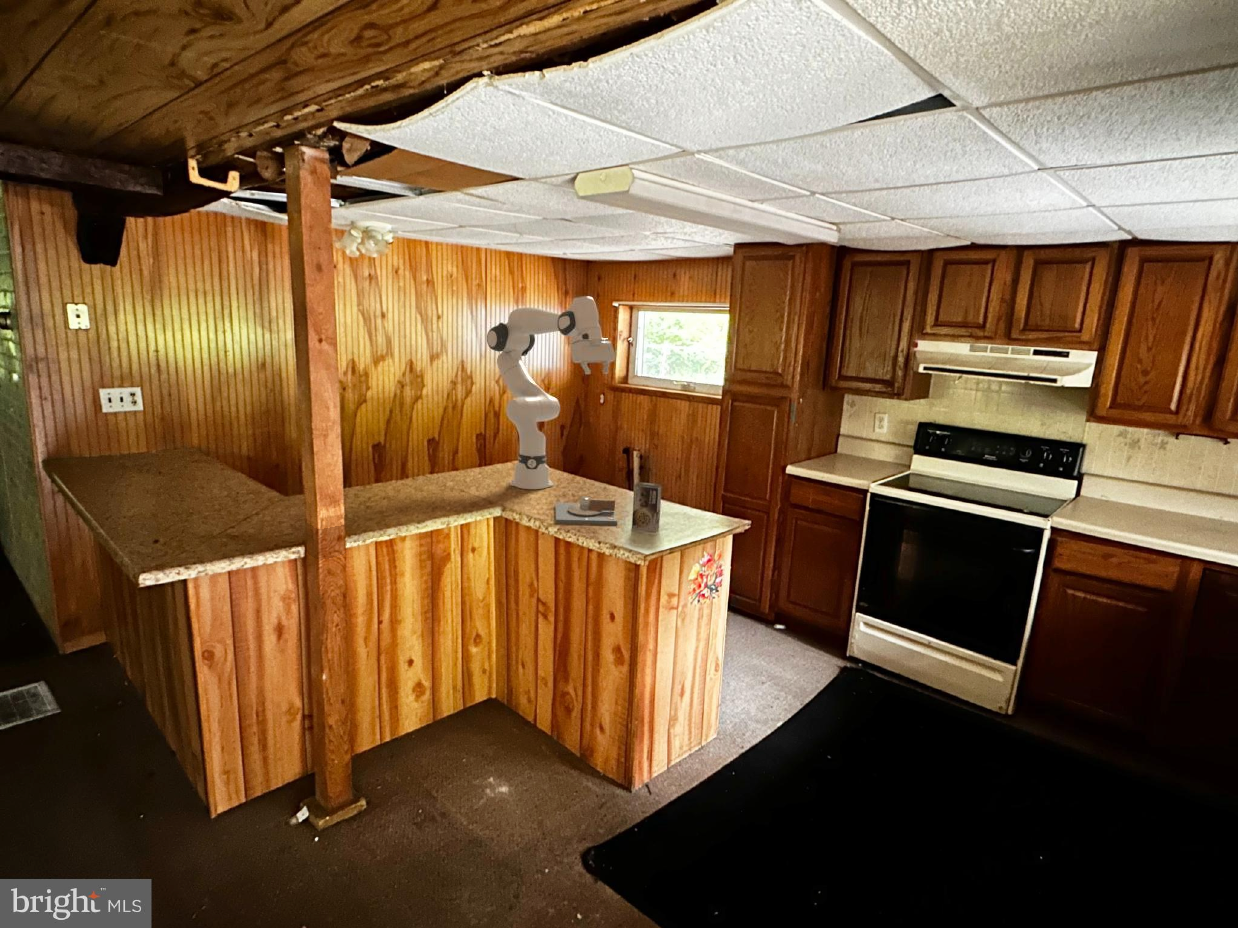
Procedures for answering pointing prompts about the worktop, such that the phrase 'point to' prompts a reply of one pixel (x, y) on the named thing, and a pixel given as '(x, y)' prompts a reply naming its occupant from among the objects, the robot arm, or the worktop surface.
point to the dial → (592, 506)
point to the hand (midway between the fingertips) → (597, 373)
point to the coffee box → (646, 506)
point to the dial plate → (570, 518)
